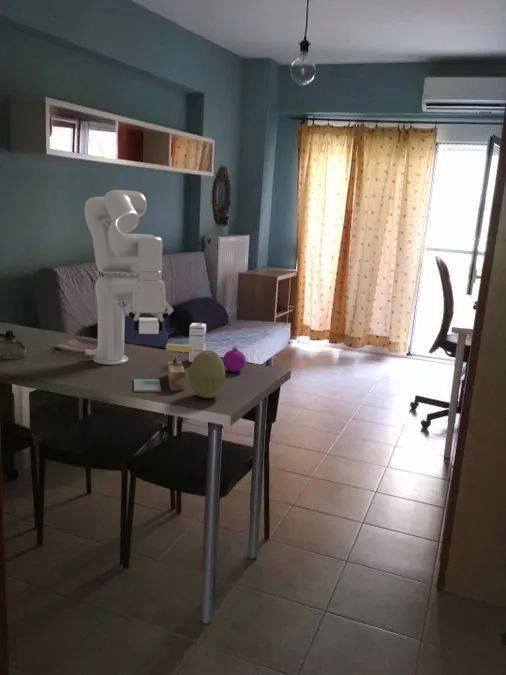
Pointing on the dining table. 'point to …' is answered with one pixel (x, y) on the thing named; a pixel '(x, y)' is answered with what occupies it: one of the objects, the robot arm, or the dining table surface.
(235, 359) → the christmas ornament
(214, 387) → the fruit
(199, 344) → the syrup box
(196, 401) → the dining table surface
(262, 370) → the dining table surface
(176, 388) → the housing
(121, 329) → the robot arm
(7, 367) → the dining table surface
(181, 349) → the golden rectangular block
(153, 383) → the mat
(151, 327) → the cover
